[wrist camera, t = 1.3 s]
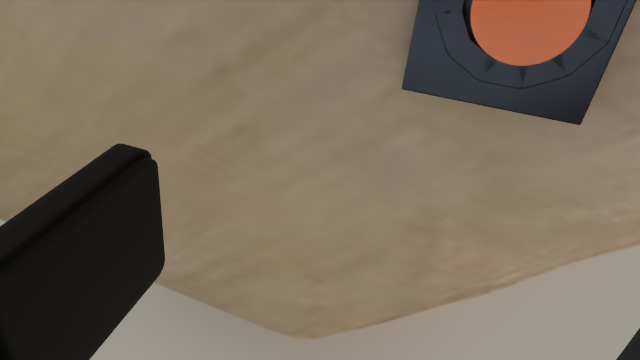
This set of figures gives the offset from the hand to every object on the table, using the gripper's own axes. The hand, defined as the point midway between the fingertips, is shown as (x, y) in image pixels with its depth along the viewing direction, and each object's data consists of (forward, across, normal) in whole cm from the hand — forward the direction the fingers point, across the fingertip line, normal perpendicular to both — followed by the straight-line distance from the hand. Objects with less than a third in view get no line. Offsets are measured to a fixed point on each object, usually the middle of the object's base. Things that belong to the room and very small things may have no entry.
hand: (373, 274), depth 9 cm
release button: (+16, -3, -2) cm, 17 cm away
